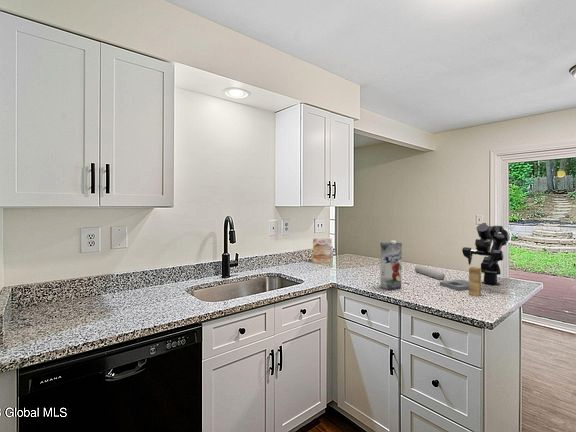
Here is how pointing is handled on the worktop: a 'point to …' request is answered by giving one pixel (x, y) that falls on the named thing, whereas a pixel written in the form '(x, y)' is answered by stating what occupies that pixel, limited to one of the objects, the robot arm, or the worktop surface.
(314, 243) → the coffeecake box
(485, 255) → the robot arm
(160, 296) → the worktop surface
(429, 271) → the tube
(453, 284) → the socket board
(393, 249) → the juice carton
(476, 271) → the pin
